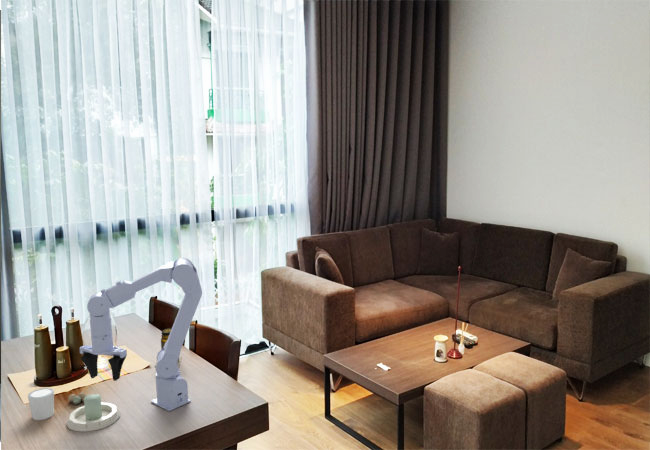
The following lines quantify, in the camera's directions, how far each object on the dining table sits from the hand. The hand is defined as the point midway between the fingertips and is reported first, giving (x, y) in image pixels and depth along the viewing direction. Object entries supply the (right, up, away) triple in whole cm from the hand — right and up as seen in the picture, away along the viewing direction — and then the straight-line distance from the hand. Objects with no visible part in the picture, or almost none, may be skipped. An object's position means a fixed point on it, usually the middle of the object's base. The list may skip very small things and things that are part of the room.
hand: (105, 378), depth 164 cm
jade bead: (-2, -10, -4) cm, 11 cm away
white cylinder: (-18, -11, -2) cm, 20 cm away
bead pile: (-10, -9, +6) cm, 15 cm away
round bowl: (-2, -11, -4) cm, 12 cm away
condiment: (+8, -4, +36) cm, 37 cm away
